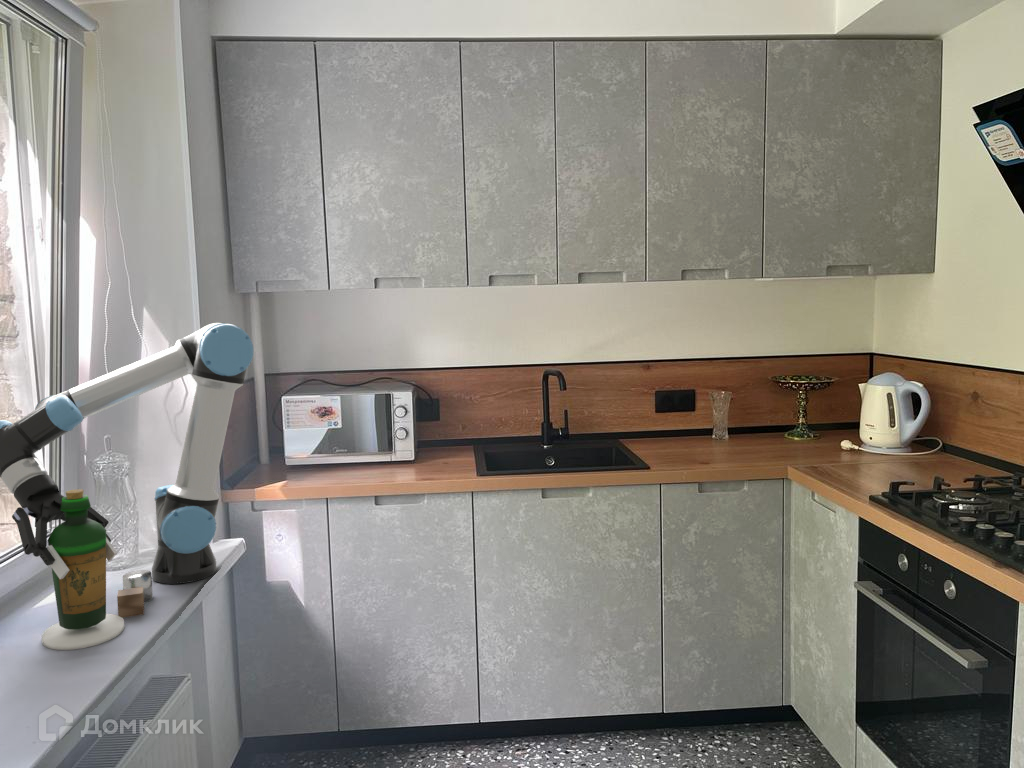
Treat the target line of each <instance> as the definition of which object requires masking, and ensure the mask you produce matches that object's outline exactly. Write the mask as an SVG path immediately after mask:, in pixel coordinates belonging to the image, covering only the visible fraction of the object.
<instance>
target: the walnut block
mask: <svg viewBox="0 0 1024 768" xmlns="http://www.w3.org/2000/svg"><path fill="white" fill-rule="evenodd" d="M116 596H117V597H116V599H117V600H116V601H117V615H118V616H120V617H122V618H123V619H125V618H127V617H128V618H129V617H136V616H143V615H145V603H144V592H143V587H139V588H131V589H124V590H123V589H119V590H117V595H116Z"/></svg>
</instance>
